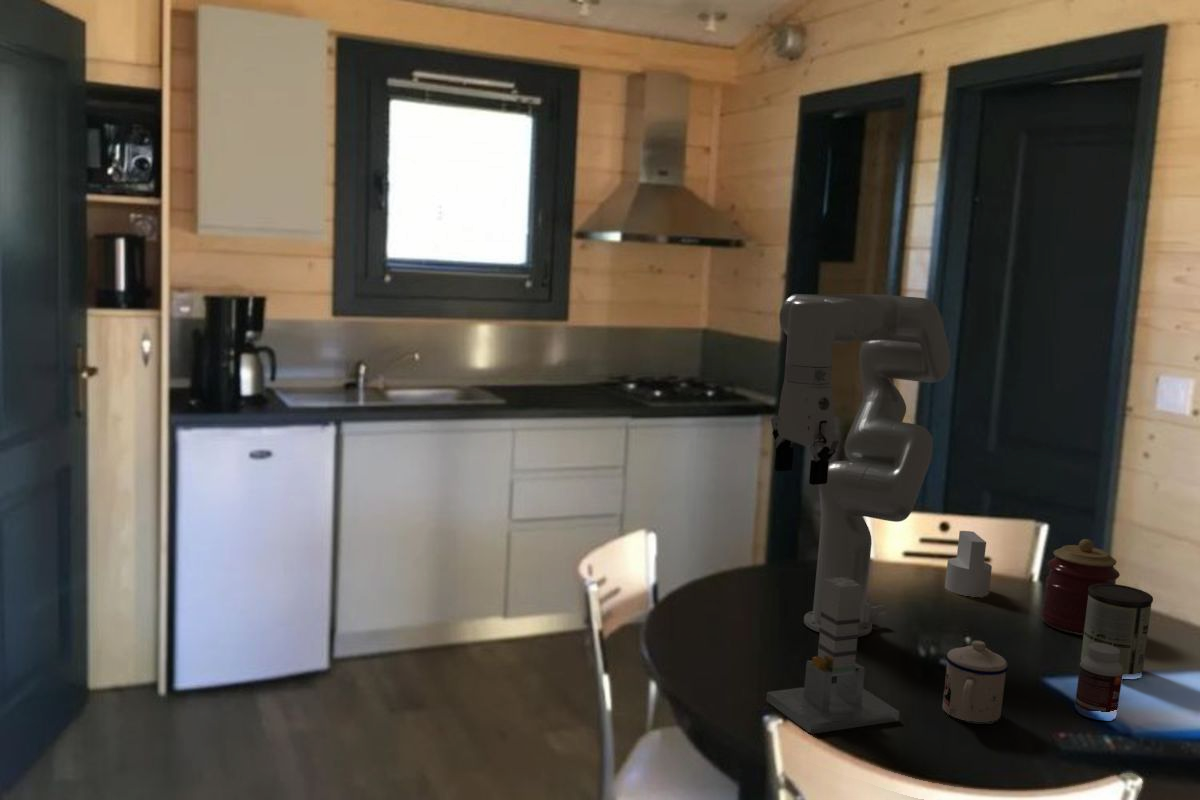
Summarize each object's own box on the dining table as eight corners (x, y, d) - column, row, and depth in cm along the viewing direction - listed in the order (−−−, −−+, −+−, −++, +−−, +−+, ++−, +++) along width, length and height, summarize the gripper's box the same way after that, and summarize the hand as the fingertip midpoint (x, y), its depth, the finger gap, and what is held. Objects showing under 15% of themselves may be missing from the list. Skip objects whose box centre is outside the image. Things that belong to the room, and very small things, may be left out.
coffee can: (1076, 654, 201) (1086, 579, 199) (1138, 664, 198) (1148, 588, 196) (1081, 673, 191) (1091, 595, 189) (1146, 684, 188) (1157, 605, 186)
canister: (1093, 643, 207) (1105, 552, 205) (1028, 622, 217) (1038, 535, 214) (1123, 630, 216) (1135, 542, 213) (1059, 611, 226) (1070, 527, 223)
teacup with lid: (946, 696, 178) (954, 627, 176) (1005, 710, 173) (1014, 640, 172) (931, 723, 167) (939, 650, 165) (994, 739, 163) (1003, 664, 161)
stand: (850, 689, 178) (855, 638, 177) (898, 720, 167) (904, 666, 166) (766, 701, 172) (770, 647, 170) (810, 734, 161) (815, 677, 159)
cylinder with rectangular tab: (994, 598, 231) (1001, 543, 230) (951, 596, 231) (958, 540, 230) (980, 585, 240) (986, 532, 238) (939, 583, 240) (945, 529, 238)
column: (838, 663, 171) (846, 576, 169) (854, 673, 167) (863, 585, 165) (815, 666, 170) (823, 578, 168) (831, 676, 166) (840, 587, 164)
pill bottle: (1118, 726, 170) (1127, 658, 169) (1074, 717, 172) (1083, 650, 171) (1115, 711, 176) (1124, 645, 174) (1073, 703, 178) (1081, 637, 177)
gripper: (859, 383, 175) (851, 487, 177) (795, 367, 190) (788, 464, 193) (821, 384, 171) (813, 491, 174) (759, 368, 187) (752, 466, 189)
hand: (800, 476), depth 183 cm, fingers open, 9 cm apart
